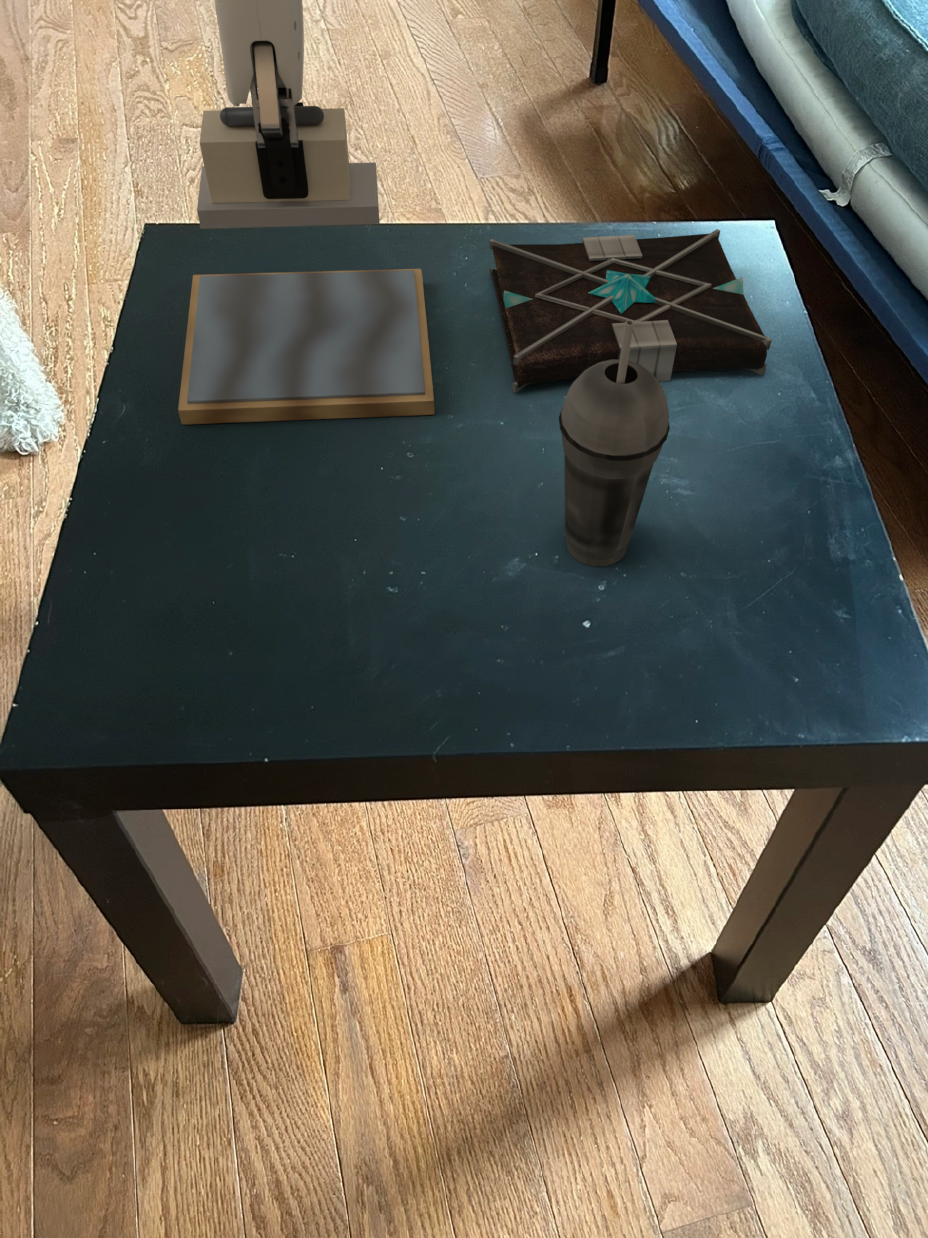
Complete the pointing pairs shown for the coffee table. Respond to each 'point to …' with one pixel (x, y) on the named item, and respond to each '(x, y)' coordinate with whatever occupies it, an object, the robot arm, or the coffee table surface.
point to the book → (624, 307)
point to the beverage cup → (609, 453)
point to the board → (306, 347)
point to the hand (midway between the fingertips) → (286, 174)
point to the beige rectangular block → (237, 183)
